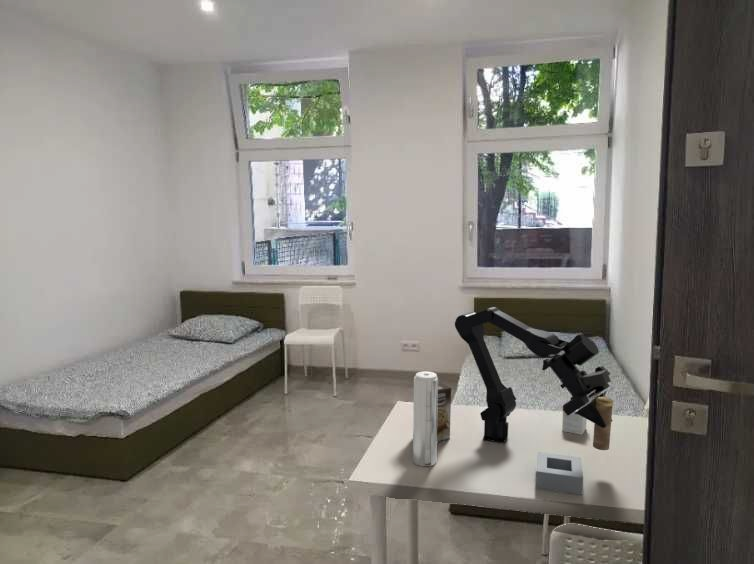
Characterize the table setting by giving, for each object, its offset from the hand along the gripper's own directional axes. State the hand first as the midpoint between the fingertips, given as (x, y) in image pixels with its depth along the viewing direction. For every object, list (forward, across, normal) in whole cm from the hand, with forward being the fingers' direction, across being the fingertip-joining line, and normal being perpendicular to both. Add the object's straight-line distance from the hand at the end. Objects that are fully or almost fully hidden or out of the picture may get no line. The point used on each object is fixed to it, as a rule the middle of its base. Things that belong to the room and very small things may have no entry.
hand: (608, 424), depth 144 cm
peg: (+4, 0, +6) cm, 7 cm away
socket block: (+4, -12, +15) cm, 19 cm away
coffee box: (-23, -13, +43) cm, 50 cm away
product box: (-2, +21, +22) cm, 30 cm away
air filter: (-18, -26, +38) cm, 49 cm away
